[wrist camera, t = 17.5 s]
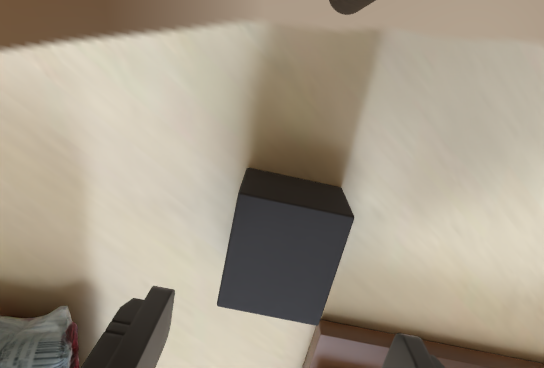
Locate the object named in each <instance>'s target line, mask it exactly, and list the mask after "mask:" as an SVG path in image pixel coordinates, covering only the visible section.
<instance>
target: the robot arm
mask: <svg viewBox="0 0 544 368" xmlns="http://www.w3.org/2000/svg"><path fill="white" fill-rule="evenodd" d="M174 295H175V290H173V289H168V288H163V287H157V286H153V287H152V288H151V290H150V291H149V293H148V295H147V296H146V298H145V300H141V299H136V298H133V299H131V300H130V301H129V302H127V303H126V304H124V305H123V306H122V307H120V309H119V310H118V312H117V313H116V315H115V316H114V318H113V319H112V322H110V324H109V325H108V327H107V328H106V331H105V332H104V333H103V335H102V336H101V338H100V339H99V341H98V342H97V344H96V345H95V347H94V348H93V350H92V351H91V353H90V354H89V356H88V357H87V359H86V360H85V362H84V363H83V365H82V366H81V368H155V367H156V365H157V362H158V360H159V357H160V355H161V353H162V350H163V348H164V345H165V343H166V340H167V337H168V333H169V330H170V325H171V317H172V310H173V303H174ZM382 368H445V367H444V366H443V364H442V363H441V362H440V361H439V360H438V359H437V358H436V357H435V356H434V355H430V354H429V352H428V350H427V348H426V346H425V344H424V342H423V340H422V339H421V338H420V337H417V336H412V335H407V334H402V333H397V334H396V335H395V337H394V339H393V341H392V344H391V346H390V348H389V351H388V353H387V355H386V358H385V360H384V363H383V366H382Z"/></svg>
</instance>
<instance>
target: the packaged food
mask: <svg viewBox="0 0 544 368" xmlns="http://www.w3.org/2000/svg"><path fill="white" fill-rule="evenodd" d="M77 331H78V328H77V325H76V323H75V322H72V319H71V315H70V312H69V308H68V306H60V307H58V308H57V309H55V310H54V311H52V312H51V313H49V314H47V315H45V316H40V317H34V318H15V317H10V316H0V368H79V356H78V350H79V345H78V334H77Z"/></svg>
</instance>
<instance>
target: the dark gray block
mask: <svg viewBox="0 0 544 368" xmlns="http://www.w3.org/2000/svg"><path fill="white" fill-rule="evenodd" d="M353 220H354V215H353V213H352V211H351V208H350V206H349V204H348V201H347V199H346V197H345V195H344V192H343V190H342V188H340V187H336V186H331V185H327V184H322V183H317V182H313V181H308V180H303V179H299V178H294V177H289V176H285V175H280V174H275V173H271V172H266V171H261V170H257V169H252V168H247V169H246V172H245V175H244V178H243V181H242V184H241V187H240V190H239V193H238V198H237V203H236V208H235V213H234V218H233V224H232V229H231V234H230V239H229V244H228V249H227V254H226V260H225V265H224V270H223V275H222V280H221V285H220V291H219V296H218V301H217V306H219V307H224V308H229V309H235V310H240V311H245V312H250V313H255V314H260V315H265V316H270V317H275V318H280V319H285V320H291V321H296V322H301V323H306V324H311V325H316V326H318V325H319V322H320V319H321V316H322V313H323V310H324V307H325V304H326V301H327V298H328V295H329V292H330V289H331V286H332V283H333V280H334V277H335V274H336V271H337V268H338V265H339V262H340V259H341V256H342V253H343V250H344V247H345V244H346V241H347V238H348V235H349V232H350V229H351V226H352V223H353Z"/></svg>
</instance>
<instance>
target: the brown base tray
mask: <svg viewBox="0 0 544 368" xmlns="http://www.w3.org/2000/svg"><path fill="white" fill-rule="evenodd" d="M394 337H395V334H390V333H385V332H380V331H375V330H370V329H365V328H360V327H355V326H350V325H345V324H340V323H335V322H330V321H325V320H320V322H319V325H318V326H316V329H315V332H314V335H313V338H312V341H311V344H310V347H309V350H308V353H307V356H306V359H305V362H304V365H303V368H382V366H383V363H384V360H385V358H386V355H387V353H388V351H389V348H390V346H391V344H392V341H393V339H394ZM423 342H424V344H425V346H426V348H427V350H428V352H429V354H430V355H434V356H435V357H436V358H437V359H438V360H439V361H440V362H441V363H442V364H443V366H444V367H445V368H544V364H543V363H537V362H532V361H527V360H522V359H517V358H512V357H507V356H502V355H497V354H492V353H487V352H482V351H477V350H472V349H466V348H461V347H456V346H451V345H446V344H441V343H436V342H431V341H426V340H423Z"/></svg>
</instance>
